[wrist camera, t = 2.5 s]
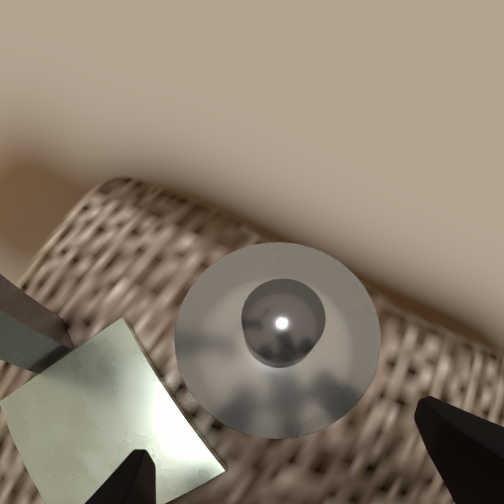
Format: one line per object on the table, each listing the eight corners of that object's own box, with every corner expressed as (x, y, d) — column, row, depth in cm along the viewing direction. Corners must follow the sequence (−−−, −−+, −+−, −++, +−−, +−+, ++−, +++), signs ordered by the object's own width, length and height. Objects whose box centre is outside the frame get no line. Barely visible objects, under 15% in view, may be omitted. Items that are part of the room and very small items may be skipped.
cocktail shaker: (308, 417, 17) (420, 414, 4) (231, 424, 17) (161, 448, 4) (300, 346, 19) (368, 208, 7) (226, 353, 19) (165, 223, 7)
